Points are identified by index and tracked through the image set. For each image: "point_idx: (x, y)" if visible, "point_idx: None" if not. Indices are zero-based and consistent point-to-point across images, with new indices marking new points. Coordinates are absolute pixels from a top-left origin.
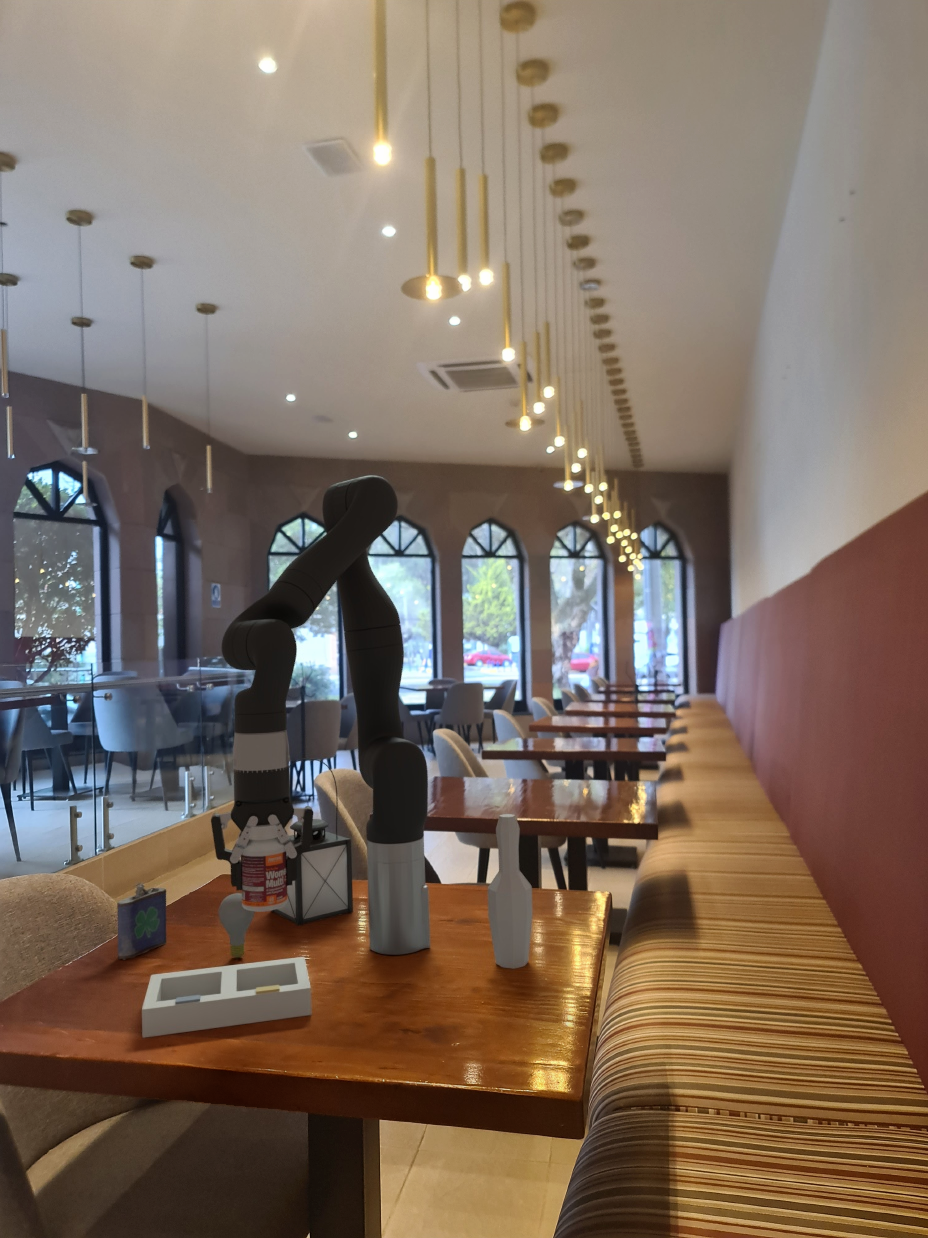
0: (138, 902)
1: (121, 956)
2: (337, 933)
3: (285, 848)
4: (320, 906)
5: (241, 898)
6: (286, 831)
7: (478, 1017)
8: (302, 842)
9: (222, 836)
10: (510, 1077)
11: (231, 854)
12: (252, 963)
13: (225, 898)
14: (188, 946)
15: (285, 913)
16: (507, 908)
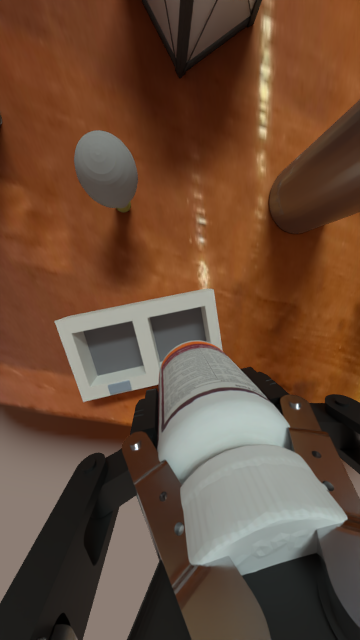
0: None
1: None
2: (233, 132)
3: None
4: (214, 26)
5: (113, 172)
6: (334, 451)
7: (330, 371)
8: (351, 464)
9: (89, 612)
10: None
11: (136, 495)
12: (160, 301)
13: (80, 160)
14: (42, 141)
15: (154, 15)
16: None
